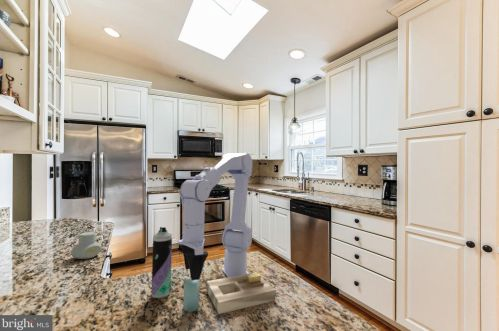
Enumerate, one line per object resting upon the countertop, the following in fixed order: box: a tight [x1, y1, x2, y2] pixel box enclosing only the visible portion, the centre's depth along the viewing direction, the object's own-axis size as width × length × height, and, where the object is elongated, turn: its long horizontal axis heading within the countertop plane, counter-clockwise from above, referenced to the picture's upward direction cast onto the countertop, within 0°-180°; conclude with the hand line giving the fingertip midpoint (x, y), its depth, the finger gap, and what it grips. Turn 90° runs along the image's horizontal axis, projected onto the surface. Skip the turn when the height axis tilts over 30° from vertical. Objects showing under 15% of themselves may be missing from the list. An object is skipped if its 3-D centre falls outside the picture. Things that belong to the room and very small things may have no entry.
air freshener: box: [70, 231, 103, 260], centre depth 100 cm, size 11×8×10 cm
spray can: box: [151, 226, 173, 299], centre depth 71 cm, size 6×6×20 cm
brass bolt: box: [246, 272, 262, 285], centre depth 71 cm, size 2×4×2 cm, turn 114°
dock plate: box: [206, 271, 276, 315], centre depth 70 cm, size 13×17×4 cm
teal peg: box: [183, 277, 200, 313], centre depth 64 cm, size 4×4×7 cm
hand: (192, 273), depth 63 cm, fingers open, 7 cm apart
